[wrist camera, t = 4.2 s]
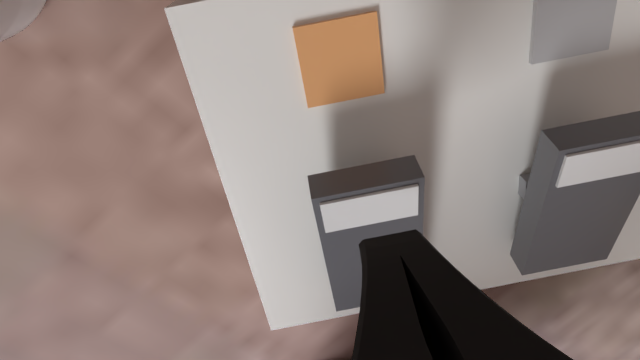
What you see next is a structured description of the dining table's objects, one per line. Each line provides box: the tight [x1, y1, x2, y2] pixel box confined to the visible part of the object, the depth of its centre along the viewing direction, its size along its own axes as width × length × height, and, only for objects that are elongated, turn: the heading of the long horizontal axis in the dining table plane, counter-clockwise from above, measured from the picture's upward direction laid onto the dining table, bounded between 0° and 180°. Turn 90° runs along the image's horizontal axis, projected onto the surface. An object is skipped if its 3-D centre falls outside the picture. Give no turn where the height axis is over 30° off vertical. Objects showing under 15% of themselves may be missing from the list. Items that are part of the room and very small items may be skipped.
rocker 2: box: [510, 111, 640, 275], centre depth 14 cm, size 6×3×1 cm, turn 10°
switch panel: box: [164, 0, 640, 330], centre depth 16 cm, size 13×23×2 cm, turn 100°
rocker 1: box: [307, 155, 425, 312], centre depth 14 cm, size 6×3×1 cm, turn 10°
